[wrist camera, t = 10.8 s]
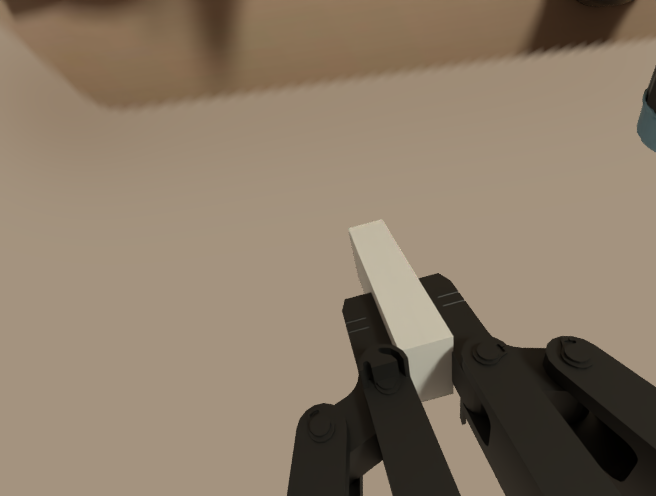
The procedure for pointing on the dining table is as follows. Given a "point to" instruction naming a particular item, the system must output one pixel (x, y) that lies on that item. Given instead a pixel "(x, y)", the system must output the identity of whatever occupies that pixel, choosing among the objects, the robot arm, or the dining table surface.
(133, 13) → the dining table surface
